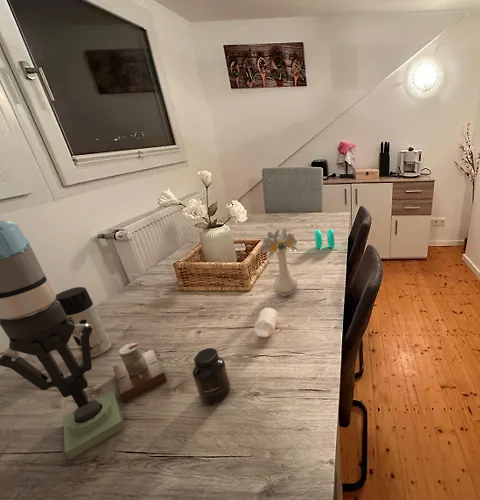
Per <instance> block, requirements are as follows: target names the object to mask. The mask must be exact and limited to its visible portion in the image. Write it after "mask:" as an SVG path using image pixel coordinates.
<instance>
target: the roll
mask: <svg viewBox="0 0 480 500" xmlns="http://www.w3.org/2000/svg"><path fill="white" fill-rule="evenodd" d="M278 317H279V313H278V310H276V309H275V308H272V307H265V308H262V309H261V310H260V312H259V315H258V317H257V320H256V322H255V325H254V329H253V334H254V335H255V336H256V337H261V338H268V337H269V336H271V335H273V334H274V333H275V329H276V324H277V322H278Z"/></svg>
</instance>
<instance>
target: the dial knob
mask: <svg viewBox="0 0 480 500" xmlns="http://www.w3.org/2000/svg"><path fill="white" fill-rule="evenodd" d="M118 354H119V357H120V358H121V362H122V363H124V365H125V367H126V369H127V372H128V374H129V375H137V374H140V373H141V372H143V371H144V370H145V369H146V368H147V364H146V361H145V359H144V357H143V352H142V349H141V347H140V345H139V343H138V342H130V343H127V344H125V345H123V346H122V347H121V348H120V349H118Z"/></svg>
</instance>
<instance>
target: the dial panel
mask: <svg viewBox="0 0 480 500" xmlns="http://www.w3.org/2000/svg"><path fill="white" fill-rule="evenodd" d="M142 354H143V357H144V359H145V361H146V364H147V368H146V369H145V370H144V371H143V372H141V373H140V374H137V375H129V374H128V372H127V369H126V367H125V365H124V363H123V362H120V363H119V364H116V365H114V366H112V369H113V373H114V376H115V380H116V382H117V387H118V391H119V394H120V397H121V399H122V401H123V403H124V404H126V403H128V402H130V401H132V400H134V399H136V398H138V397H140V396H141V395H143V394H145V393H147V392H149V391H151V390H152V389H155V388H156V387H159V386H160V385H161V384H164V383H166V382H167V381H168V379H167V377H166V374H165V372H164V370H163V367H162V365H161V362H160V361H159V359H158V357H157V355H156V353H155V351H154V349H153V348H152V349H149V350H147V351H145V352H142Z"/></svg>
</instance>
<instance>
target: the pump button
mask: <svg viewBox="0 0 480 500" xmlns="http://www.w3.org/2000/svg"><path fill="white" fill-rule="evenodd" d="M100 411H101V406H100V405H99V403H98V401H96V399H92V400H88V404H86V405H84V406H82V407H80V408H78V407H77V408H76V409H75V412H74V417H75V419H76V420H77V422H79V423H83V422H87V421H88V420H90V419H92V418H94V417H95V416H96V415H97V414H98V413H99V412H100Z"/></svg>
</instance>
